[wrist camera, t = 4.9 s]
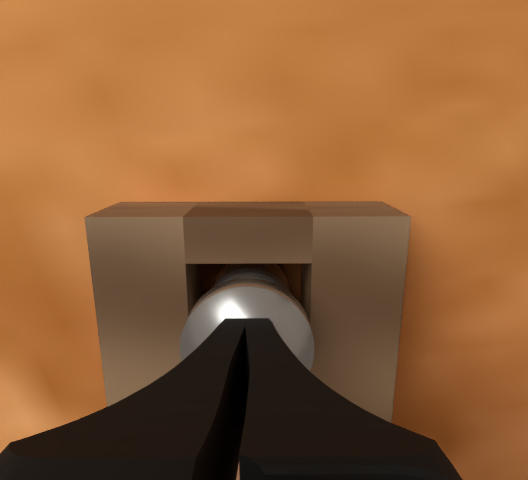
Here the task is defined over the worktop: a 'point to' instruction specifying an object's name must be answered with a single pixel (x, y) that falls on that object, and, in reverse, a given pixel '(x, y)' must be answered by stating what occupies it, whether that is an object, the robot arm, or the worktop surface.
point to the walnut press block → (244, 252)
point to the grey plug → (250, 308)
